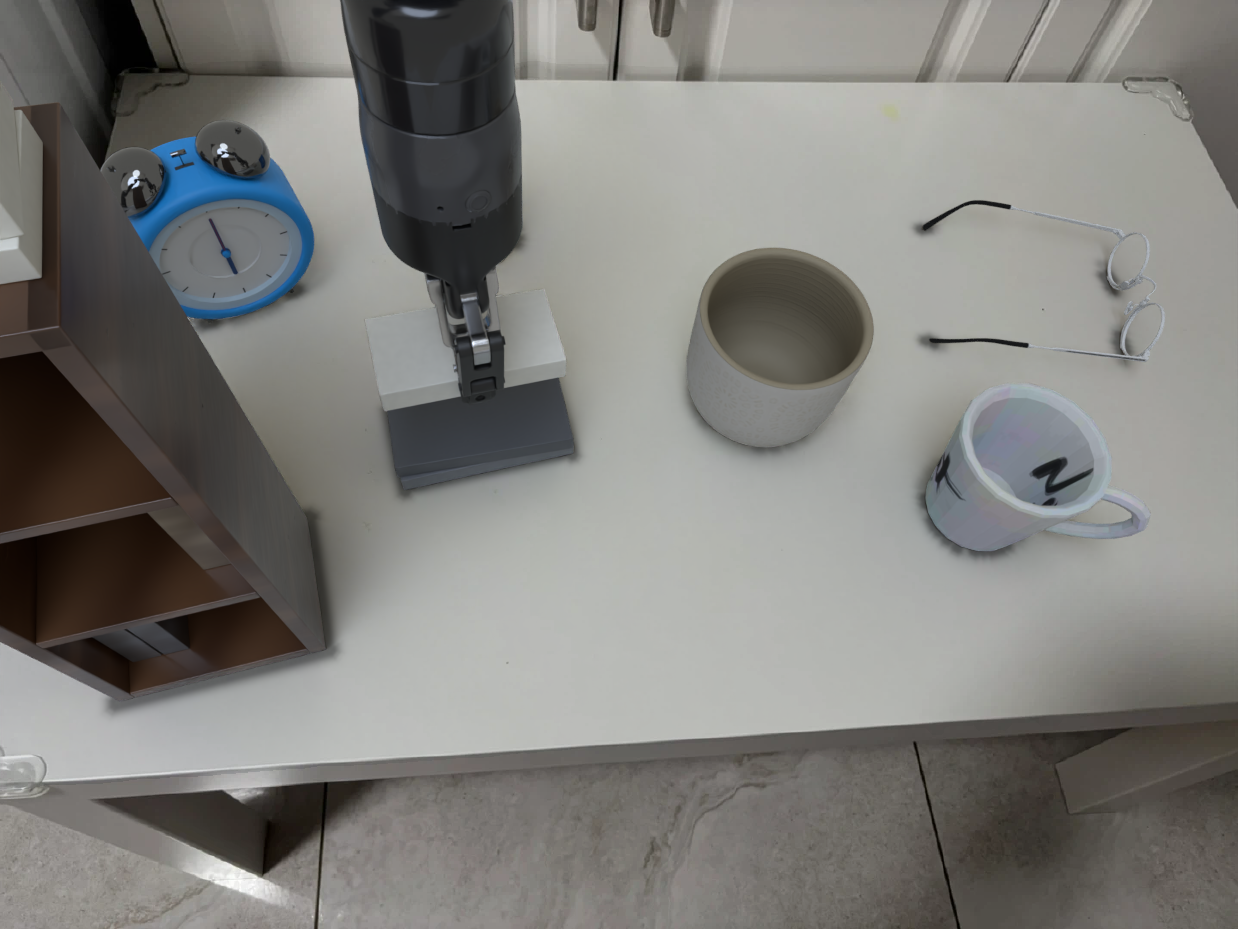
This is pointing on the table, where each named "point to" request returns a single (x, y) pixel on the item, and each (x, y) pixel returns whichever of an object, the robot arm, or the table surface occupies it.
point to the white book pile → (19, 195)
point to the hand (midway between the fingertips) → (467, 355)
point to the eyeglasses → (1123, 286)
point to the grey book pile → (479, 434)
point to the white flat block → (424, 365)
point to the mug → (1025, 472)
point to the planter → (775, 345)
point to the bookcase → (132, 467)
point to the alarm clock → (215, 218)
